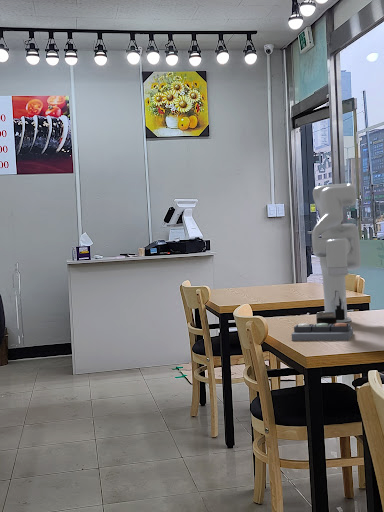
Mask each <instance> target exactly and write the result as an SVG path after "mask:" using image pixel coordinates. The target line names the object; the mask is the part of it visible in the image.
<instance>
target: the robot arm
mask: <svg viewBox="0 0 384 512" xmlns="http://www.w3.org/2000/svg"><path fill="white" fill-rule="evenodd" d="M356 191H357V190H356V187H355V186H354V185H353V184H352V183H351V182H349V183H345V182H344V183H336V184H335V183H333V184H322V185H318V186H316V187H314V188H313V190H312V198H313V202H314V205H315V206H316V208H317V211H318V214H319V220H318V221H317V222H316V224H315V226H314V227H313V228H312V229H313V230H312V233H311V243H312V245H311V247H312V253H313V255H314V256H315V257H316V258H319V264H320V270H321V276H322V286H323V287H322V288H323V303H324V304H323V305H324V312H334V314H335V317H336V321H337V323H349V322H352V318H351V317H350V316H348V309H347V308H348V307H347V304H348V303H347V294H346V293H347V289H346V287H347V286H346V276H348V275H349V272H348V271H356V270H359V269H360V268H361V266H362V264H361V263H362V257H361V244H360V233H359V229H358V226H357V225H356V224H355V223H342V222H343V220H344V212H343V207H352V206H355V205H356V203H357V192H356ZM320 236H321V238H320Z"/></svg>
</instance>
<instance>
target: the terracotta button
mask: <svg viewBox="0 0 384 512" xmlns="http://www.w3.org/2000/svg"><path fill="white" fill-rule="evenodd" d="M347 324H348V322H344V323H336V324H335V326H347Z"/></svg>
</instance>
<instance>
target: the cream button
mask: <svg viewBox="0 0 384 512" xmlns="http://www.w3.org/2000/svg"><path fill="white" fill-rule="evenodd" d="M298 327H310V323H306V322H305V323H298Z"/></svg>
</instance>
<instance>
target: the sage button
mask: <svg viewBox="0 0 384 512" xmlns="http://www.w3.org/2000/svg"><path fill="white" fill-rule="evenodd" d="M315 324H316V327H324V326H328V324H327V323H319V324H317V323H315Z"/></svg>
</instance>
